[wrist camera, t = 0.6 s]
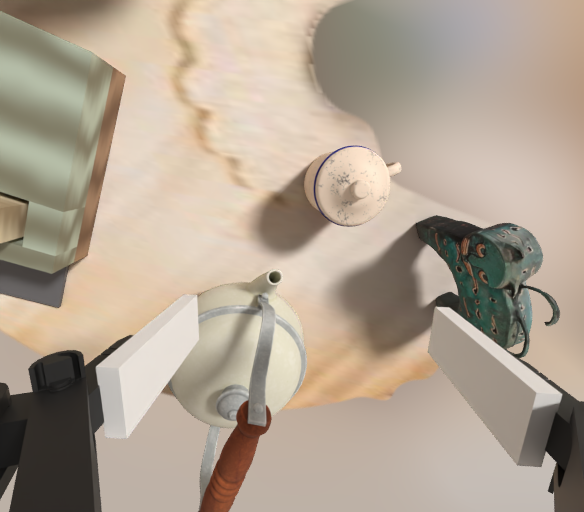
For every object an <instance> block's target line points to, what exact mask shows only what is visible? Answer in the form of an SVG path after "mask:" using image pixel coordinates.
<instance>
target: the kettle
mask: <svg viewBox="0 0 584 512" xmlns="http://www.w3.org/2000/svg"><path fill="white" fill-rule="evenodd" d="M282 279H283V275H282V272H281V271H279V270H277V269H273V270H270V271H269V272H267V273H265V274H262V275H261V276H259V277H258V278H256V279H255V280H253V281H252V282H251V283H246V282H245V283H231V284H225V285H221V286H217V287H214V288H212V289H210V290H208V291H206V292H204V293H202V294H201V295H200V296H198V297H197V302H198V325H199V341H198V342H197V343H196V345H195V346H194V347H193V349H192V350H191V352H190V353H189V354H188V356H187V357H186V358H185V360H184V361H183V363H182V364H181V365H180V367H179V368H178V369H177V371H176V372H175V374H174V375H173V376H172V378H171V379H170V380H169V382H168V385H169V387H170V389H171V391H172V393H173V394H174V396H175V397H176V398H177V399H178V401H179V402H180V403H181V405H182V406H183V407H184V408H185V409H186V410H187V411H188V412H189V413H190V414H191V415H192V416H194V417H195V418H197V419H198V420H200V421H202V422H204V423H207V424H209V425H210V429H209V433H208V437H207V442H206V446H205V450H204V455H203V460H202V465H201V471H200V494H201V498H200V506H199V511H198V512H228V511H229V510H230V508H231V506H232V504H233V502H234V499H235V496H236V495H237V493H238V491H239V489H240V487H241V485H242V482H243V481H244V478H245V475H246V473H247V471H248V469H249V467H250V465H251V463H252V460H253V457H254V454H255V451H256V447H257V443H258V439H259V436H260V435H262V434H264V433H266V432H267V430H268V429H269V426H270V423H271V417H272V416H273V415H275V414H276V413H277V412H279V411H280V410H281V409H282V408H283V407H284V406H285V405H286V404H287V402H288V401H289V400H290V399H291V398H292V397H293V396H294V395H295V393H296V392H297V391H298V389H299V388H300V386H301V384H302V382H303V379H304V376H305V372H306V367H307V356H306V350H305V347H304V336H303V330H302V326H301V323H300V320H299V318H298V315H297V314H296V312H295V311H294V309H293V308H292V307H291V306H290V304H289V303H288V302H287V301H286V300H285V299H283V298H282V297H281V296H280V295H279V294H278V293H276V287H277V285H278V284H280V283H281V281H282ZM220 427H221V428H235V429H234V431H233V432H232V434H231V435H230V437H229V438H228V440H227V442H226V444H225V445H224V447H223V450H222V452H221V455H220V458H219V460H218V461H217V464H216V466H215V469H214V471H213V474H212V470H213V462H214V456H215V451H216V446H217V440H218V436H219V431H220Z"/></svg>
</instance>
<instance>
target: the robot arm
mask: <svg viewBox="0 0 584 512" xmlns="http://www.w3.org/2000/svg"><path fill="white" fill-rule="evenodd" d="M198 341H199V325H198V302H197V295H187V294H184V295H182V296H181V297H180V298H179V299H177V300H176V301H175V302H174V303H173V304H171V305H170V306H169V307H168V308H167V309H165V310H164V311H163V312H162V313H160V314H159V315H158V316H157V317H156V318H154V319H153V320H152V321H151V322H150V323H148V324H147V325H146V326H145V327H143V328H142V329H141V330H140V331H139V332H137V333H136V334H135V335H129V336H127V337H125V338H123V339H120V340H118V341H117V342H115V343H114V344H113V345H112V346H110V347H109V349H106V350H105V351H104V352H103V353H101V355H99V356H97V357H96V358H95V359H94V360H92V361H91V362H90V363H88V364H87V365H86V366H85V365H84V359H83V354H82V353H81V352H79V351H76V350H67V351H62V352H57V353H54V354H50V355H47V356H45V357H43V358H41V359H39V360H37V361H36V362H34V363H33V364H32V365H31V366H30V368H29V369H28V370H29V375H30V380H31V385H32V390H33V392H30V393H23V394H16V395H10V393H9V388H8V386H7V385H6V384H5V383H0V499H1V497H2V495H3V494H4V492H5V490H6V488H7V486H8V484H9V482H10V481H11V479H12V477H13V475H14V473H15V471H16V469H17V468H18V471H17V476H16V480H15V485H14V490H13V495H12V501H11V505H10V511H9V512H102V511H101V499H100V487H99V476H98V463H97V451H96V440H95V434H94V433H95V432H96V431H97V430H98V429H99V427H100V426H101V425H102V424H104V431H105V437H106V438H121V439H127V438H128V437H129V435H130V434H131V433H132V431H133V430H134V429H135V427H136V426H137V424H138V423H139V422H140V420H141V419H142V417H143V416H144V415H145V413H146V412H147V411H148V409H149V408H150V406H151V405H152V404H153V402H154V401H155V400H156V398H157V397H158V396H159V394H160V393H161V391H162V390H163V389H164V387H165V386H166V385H167V383H168V382H169V380H170V379H171V378H172V376H173V375H174V374H175V372H176V371H177V369H178V368H179V367H180V365H181V364H182V363H183V361H184V360H185V358H186V357H187V356H188V354H189V353H190V352H191V350H192V349H193V347H194V346H195V345H196V343H197V342H198ZM428 353H429V354H430V356H431V357H432V358H433V360H434V361H435V362H436V363H437V365H438V366H439V367H440V368H441V370H442V371H443V372H444V373H445V375H446V376H447V377H448V378H449V380H450V381H451V382H452V384H453V385H454V386H455V387H456V389H457V390H458V391H459V392H460V394H461V395H462V396H463V397H464V399H465V400H466V401H467V402H468V404H469V405H470V406H471V408H472V409H473V410H474V411H475V413H476V414H477V415H478V416H479V418H480V419H481V420H482V421H483V423H484V424H485V425H486V426H487V428H488V429H489V430H490V432H491V433H492V434H493V435H494V437H495V438H496V439H497V440H498V441H499V443H500V444H501V445H502V447H503V448H504V449H505V450H506V452H507V453H508V454H509V455H510V457H511V458H512V459H513V461H514V462H515V463H516V464H517V465H520V466H534V467H541V466H542V463H543V459H544V456H545V452H548V454H549V455H550V456H551V457H552V458H553V459H554V460H555V461H556V462H557V463H556V466H555V470H554V473H553V476H552V479H551V482H550V486H549V489H548V492H550V493H552V494H553V492H554V506H555V507H554V509H555V512H584V402H582V401H581V402H579V401H578V400H576V399H575V398H574V397H572V396H571V395H570V394H568V393H567V392H566V391H564V390H563V389H562V388H560V387H559V386H558V385H556V384H555V383H554V382H552V381H551V380H548V378H547V377H546V376H544V375H543V374H542V373H539V372H538V371H537V370H536V369H535V368H534V367H532V366H531V365H530V364H528V363H527V362H525V361H523V360H521V359H519V358H517V357H515V356H513V355H511V354H509V353H508V352H507V351H505V350H504V349H503V348H501V347H500V346H499V345H498V344H496V343H495V342H494V341H492V340H491V339H490V338H488V337H487V336H486V335H485V334H483V333H482V332H481V331H479V330H478V329H477V328H475V327H474V326H473V325H472V324H470V323H469V322H468V321H466V320H465V319H464V318H462V317H461V316H460V315H459V314H457V313H456V312H455V311H453V310H452V309H451V308H449V307H435V310H434V316H433V322H432V328H431V335H430V341H429V347H428Z"/></svg>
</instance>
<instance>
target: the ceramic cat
mask: <svg viewBox="0 0 584 512" xmlns="http://www.w3.org/2000/svg"><path fill="white" fill-rule="evenodd" d="M416 226H417V231H418V235H419V238H420V239H421V240H423V241H424V242H425V243H427V244H428V245H429V246H431V247H432V248H433V249H434V250H435V251H436V252H437V253H438V255H439V256H440V257H441V258H442V259H444V261H445V262H446V263H447V265H448V267H449V269H450V270H451V272H452V274H453V277H454V279H455V282H456V285H457V288H458V295H459V296H457V295H455V294H454V293H452V292H448V293H446V294H444V295H441V296H439V297H438V298H437V299H436V306H437V307H449V308H451V309H452V310H453V311H455V312H456V313H457V314H459V315H460V316H461V317H462V318H464V319H465V320H466V321H468V322H469V323H470V324H472V325H473V326H474V327H475V328H477V329H478V330H479V331H481V332H482V333H483V334H485V335H486V336H487V337H488V338H490V339H491V340H492V341H494V342H495V343H496V344H498V345H499V346H500V347H501V348H503V349H504V350H505V351H507V352H508V353H509V354H511V355H513V356H515V357H517V358H521V357H524V356H525V355H526V354H527V352H528V349H529V332H530V328H531V323H532V306H531V301H530V296H529V292H528V289H531V290H534V291H537V292H539V293H541V294H542V295H543V296H544V297H545V298H546V299H547V301H548V302H549V303H550V305H551V307H552V309H553V317H552V319H551V321H550V322H545V325H546V326H550V325H553V324H555V323H556V322H557V321H558V320H559V316H560V311H559V308H558V306H557V303H556V301H555V300H554V299H553V298H552V297H551V296H550V295H549V294H547V293H545V292H543V291H541V290H540V289H537V288H534V287H531V286H526V280H527V279H528V278H530V277H531V276H532V275H534V274H535V273H536V272H537V271H538V270H539V268H540V267H541V264H542V261H543V254H542V251H541V247H540V245H539V244H538V242H537V240H536V238H535V237H534V236H533V235H532V234H531V233H530V232H529V231H528V230H526V229H524V228H522V227H519V226H517V225H514V224H511V223H502V224H497V225H494V226H491V227H488V228H485V229H482V228H480V227H477V226H475V225H472V224H470V223H467V222H463V221H456V220H453V219H450V218H447V217H442V216H437V215H436V216H433V217H430V218H428V219H425V220H423V221H420V222H418V223H416ZM527 288H528V289H527ZM524 340H525V342H524V347H523V351H522V352H521V353H519V354H514V353H511V352H509V351H508V350H507V348H510V347H512V346H514V345H515V344H518V343H521V342H522V341H524Z"/></svg>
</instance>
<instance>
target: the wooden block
mask: <svg viewBox="0 0 584 512" xmlns="http://www.w3.org/2000/svg"><path fill="white" fill-rule="evenodd" d="M28 205H29V201H27V200H24V199H21V198H18V197H15V196H12V195H9V194H6V193H3V192H0V243H3V242H7V241H10V240H14V239H17V238H21V237H24V232H25V226H26V219H27V212H28Z"/></svg>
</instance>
